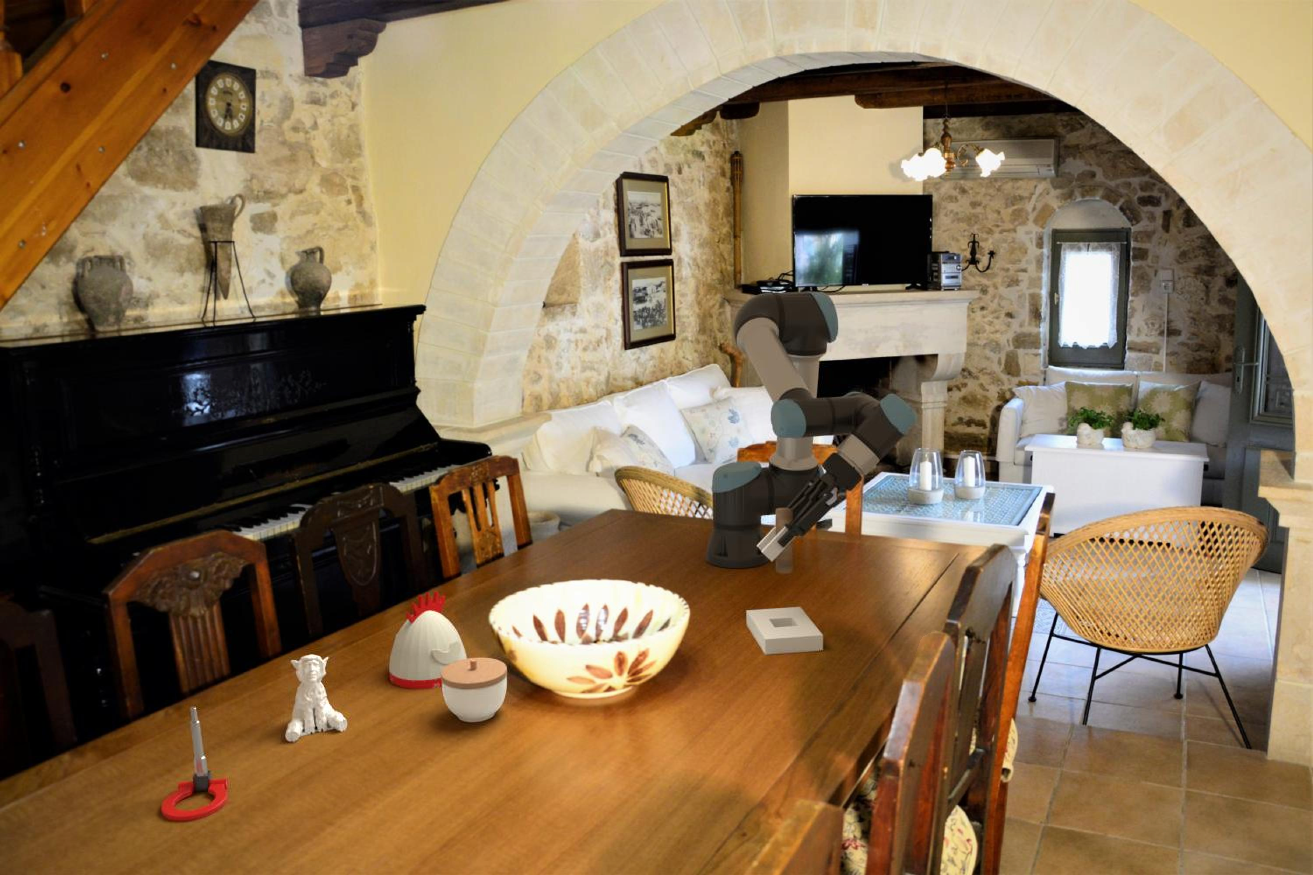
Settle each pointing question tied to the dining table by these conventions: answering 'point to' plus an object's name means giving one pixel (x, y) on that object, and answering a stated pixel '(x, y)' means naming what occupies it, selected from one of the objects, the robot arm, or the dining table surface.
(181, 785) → the tow hook
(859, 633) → the dining table surface
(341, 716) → the white creature statuette
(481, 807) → the dining table surface
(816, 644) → the hole block
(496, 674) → the lidded jar
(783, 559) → the peg
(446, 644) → the kitchen timer
